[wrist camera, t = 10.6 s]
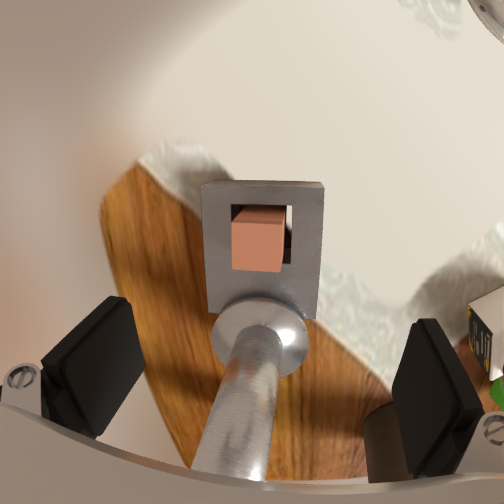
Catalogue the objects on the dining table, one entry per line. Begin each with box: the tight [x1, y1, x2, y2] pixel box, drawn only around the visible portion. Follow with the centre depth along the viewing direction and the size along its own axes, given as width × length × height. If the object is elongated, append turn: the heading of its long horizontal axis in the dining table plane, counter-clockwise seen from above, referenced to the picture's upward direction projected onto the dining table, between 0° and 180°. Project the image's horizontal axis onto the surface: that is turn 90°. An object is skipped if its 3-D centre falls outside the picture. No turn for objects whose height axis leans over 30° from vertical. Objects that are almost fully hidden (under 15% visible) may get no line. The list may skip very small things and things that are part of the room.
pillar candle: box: [363, 402, 414, 484], centre depth 29 cm, size 10×10×15 cm
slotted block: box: [191, 180, 324, 481], centre depth 21 cm, size 18×10×22 cm, turn 1°
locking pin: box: [231, 204, 287, 272], centre depth 26 cm, size 4×4×8 cm
